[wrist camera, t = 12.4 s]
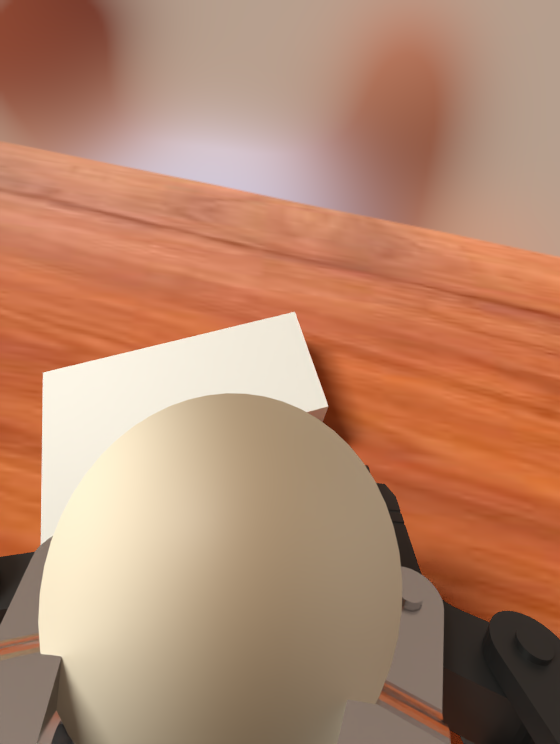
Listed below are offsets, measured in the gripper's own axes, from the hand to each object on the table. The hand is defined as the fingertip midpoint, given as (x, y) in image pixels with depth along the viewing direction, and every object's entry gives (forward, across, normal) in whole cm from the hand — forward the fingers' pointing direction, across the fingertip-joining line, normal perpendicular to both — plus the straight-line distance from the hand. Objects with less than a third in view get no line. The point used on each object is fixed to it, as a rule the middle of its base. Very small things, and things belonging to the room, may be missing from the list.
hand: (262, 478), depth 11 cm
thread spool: (+2, 0, +4) cm, 5 cm away
